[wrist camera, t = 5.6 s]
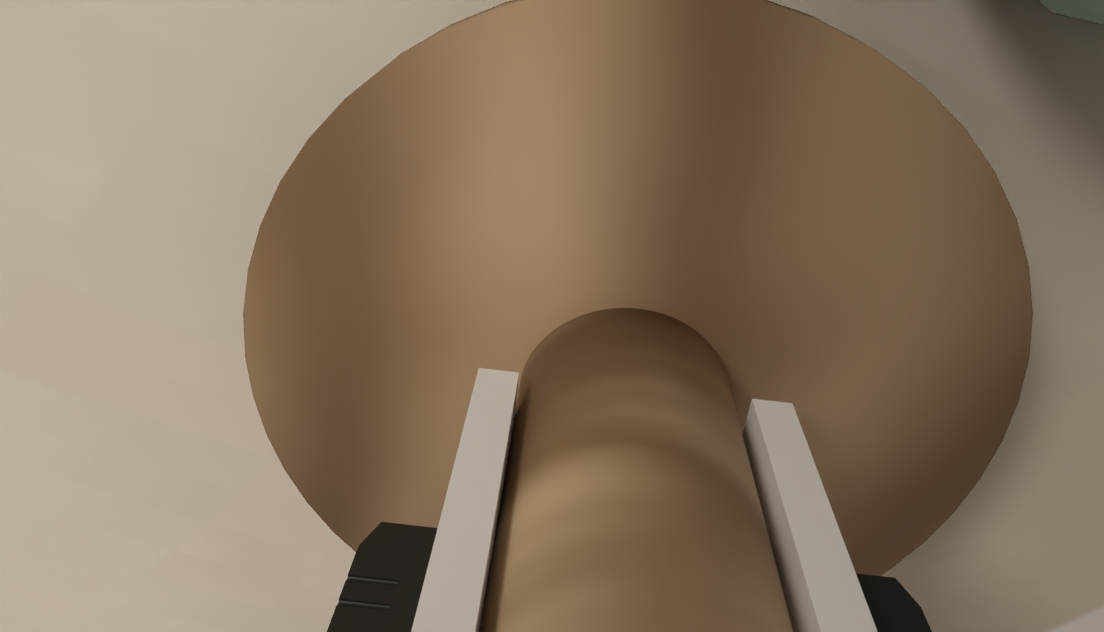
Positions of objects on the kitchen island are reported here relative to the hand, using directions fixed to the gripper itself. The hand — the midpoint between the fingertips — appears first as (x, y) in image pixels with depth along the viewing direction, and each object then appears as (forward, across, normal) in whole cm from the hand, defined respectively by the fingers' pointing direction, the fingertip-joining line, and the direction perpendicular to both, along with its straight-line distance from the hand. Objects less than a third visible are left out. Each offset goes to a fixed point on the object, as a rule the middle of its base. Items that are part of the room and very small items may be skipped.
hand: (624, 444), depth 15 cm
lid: (+2, 0, 0) cm, 2 cm away
